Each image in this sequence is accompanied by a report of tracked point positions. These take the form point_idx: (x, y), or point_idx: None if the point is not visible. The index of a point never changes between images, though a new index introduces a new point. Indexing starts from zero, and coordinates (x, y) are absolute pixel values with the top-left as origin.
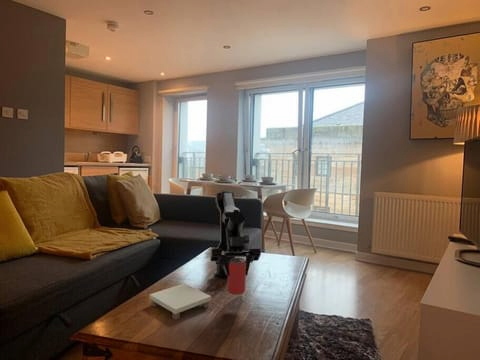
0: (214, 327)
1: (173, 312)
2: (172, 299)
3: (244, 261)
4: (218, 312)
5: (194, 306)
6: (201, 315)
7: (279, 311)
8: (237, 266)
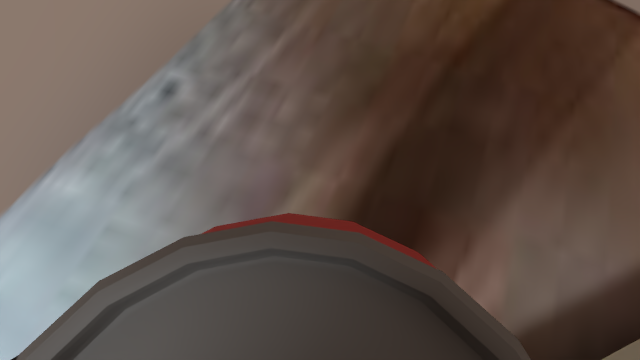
0: (494, 146)
1: None
2: None
3: (58, 320)
4: None
5: (626, 346)
6: (546, 296)
7: (73, 198)
8: (372, 234)
